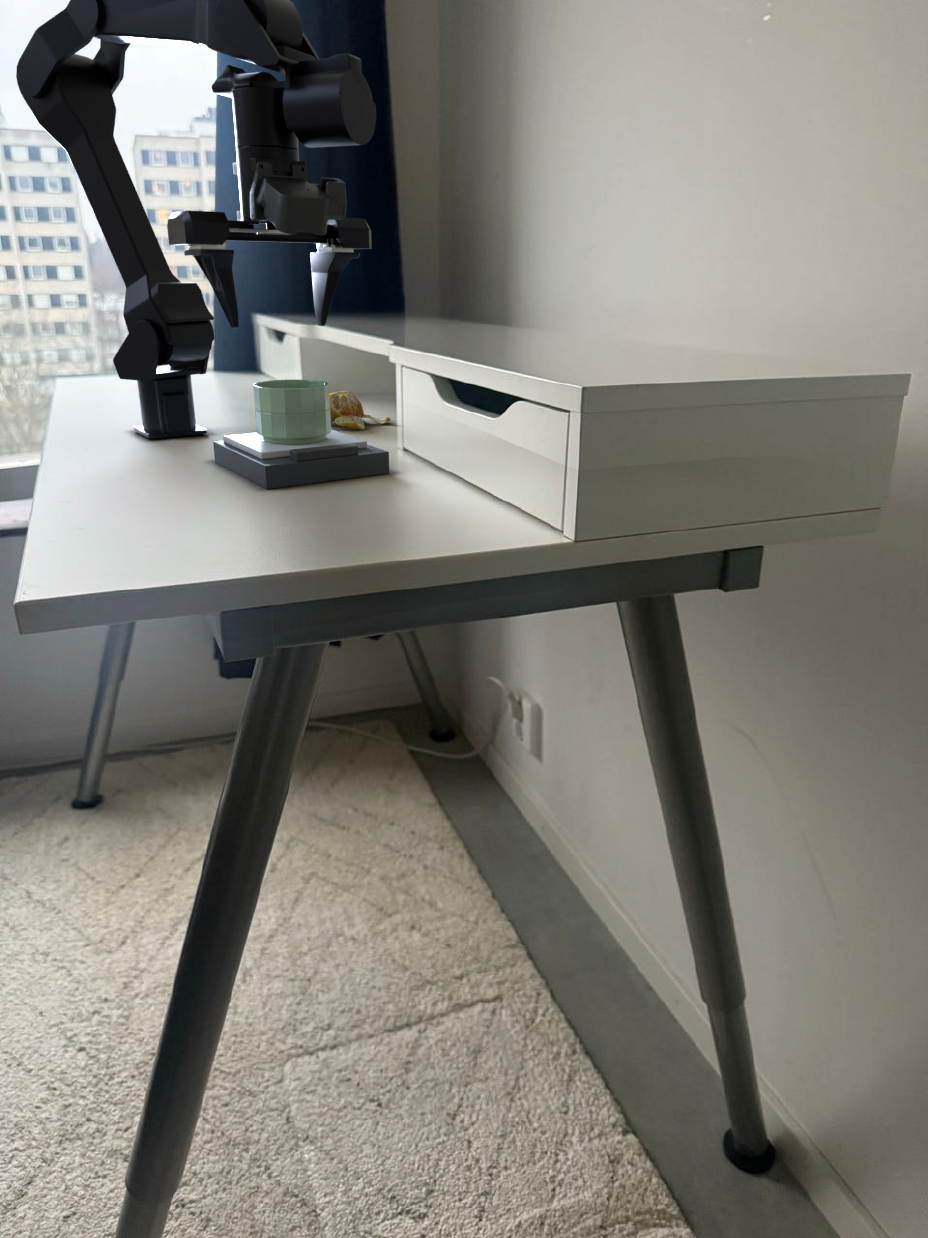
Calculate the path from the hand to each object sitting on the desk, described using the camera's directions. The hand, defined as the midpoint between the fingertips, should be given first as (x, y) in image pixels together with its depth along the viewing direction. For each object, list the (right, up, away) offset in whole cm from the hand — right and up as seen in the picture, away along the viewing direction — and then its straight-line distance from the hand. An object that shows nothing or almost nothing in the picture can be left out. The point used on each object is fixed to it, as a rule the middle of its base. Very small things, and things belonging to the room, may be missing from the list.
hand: (279, 326), depth 86 cm
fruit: (+5, -6, +18) cm, 19 cm away
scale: (+3, -15, -5) cm, 16 cm away
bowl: (+3, -12, -5) cm, 13 cm away
